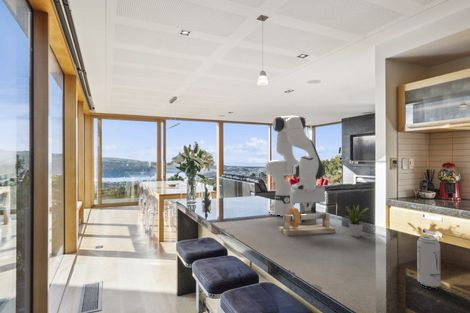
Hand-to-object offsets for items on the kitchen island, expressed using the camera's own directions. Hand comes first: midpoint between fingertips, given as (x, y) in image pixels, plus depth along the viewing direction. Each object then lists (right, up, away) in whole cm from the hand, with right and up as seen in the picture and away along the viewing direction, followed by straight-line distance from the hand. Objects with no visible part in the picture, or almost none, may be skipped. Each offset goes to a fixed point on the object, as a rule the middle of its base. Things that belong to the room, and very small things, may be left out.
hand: (307, 210), depth 157 cm
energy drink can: (+21, -11, -67) cm, 71 cm away
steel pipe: (-1, -5, 0) cm, 5 cm away
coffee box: (+5, -12, +19) cm, 22 cm away
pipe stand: (-1, -11, 0) cm, 11 cm away
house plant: (+23, -11, -10) cm, 28 cm away
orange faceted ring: (-8, -8, -2) cm, 12 cm away
